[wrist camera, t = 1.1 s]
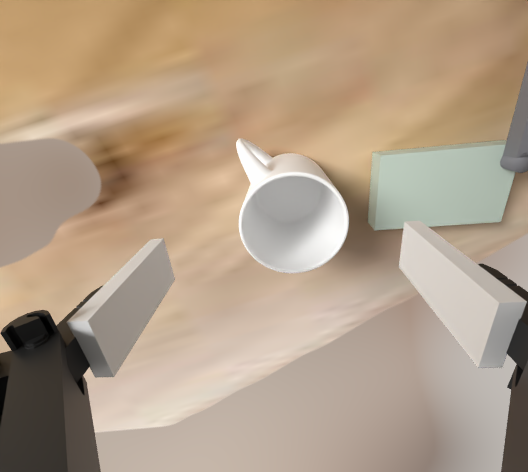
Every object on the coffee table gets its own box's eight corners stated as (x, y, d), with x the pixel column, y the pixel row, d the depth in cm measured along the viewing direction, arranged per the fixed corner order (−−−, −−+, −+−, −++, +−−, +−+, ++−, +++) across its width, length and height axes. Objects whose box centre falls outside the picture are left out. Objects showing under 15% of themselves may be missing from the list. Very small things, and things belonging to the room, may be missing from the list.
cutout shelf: (397, -210, 18) (427, -291, 15) (607, -252, 17) (698, -352, 14) (367, 221, 32) (379, 236, 28) (485, 213, 31) (513, 227, 27)
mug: (278, 106, 27) (278, 103, 17) (341, 197, 31) (369, 237, 21) (216, 159, 30) (185, 182, 20) (280, 238, 33) (281, 290, 24)
